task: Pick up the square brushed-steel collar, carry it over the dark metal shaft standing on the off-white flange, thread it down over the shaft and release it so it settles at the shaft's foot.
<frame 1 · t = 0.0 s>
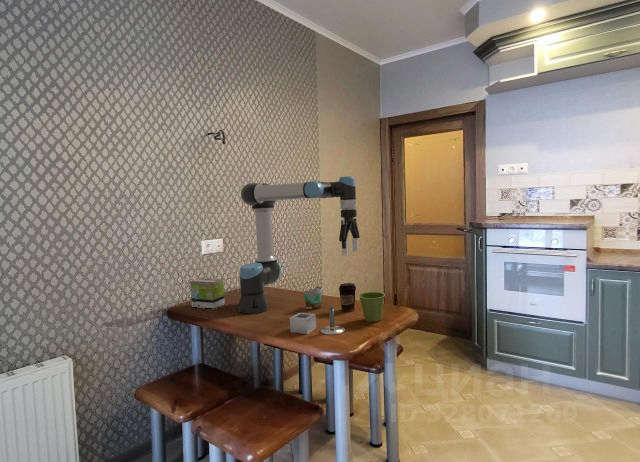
hand: (350, 253, 186), 28 cm above the table, fingers open, 13 cm apart
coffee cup: (348, 310, 189), on the table
collar: (303, 330, 162), on the table
post: (332, 330, 160), on the table
tea box: (208, 306, 210), on the table
food container: (316, 308, 195), on the table
plant pot: (372, 320, 172), on the table
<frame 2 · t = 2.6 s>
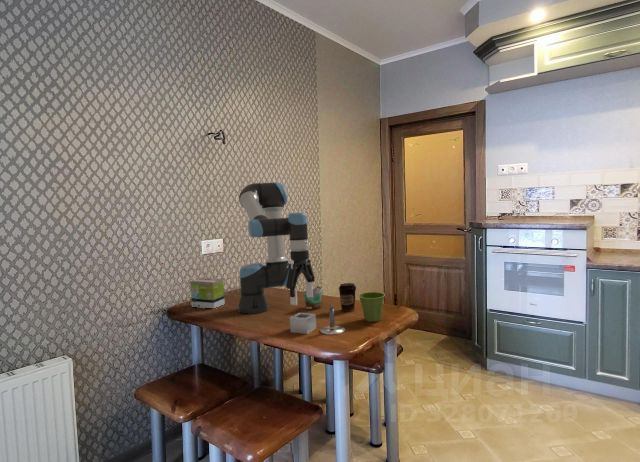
hand: (302, 300, 161), 13 cm above the table, fingers open, 13 cm apart
nothing on the table moved.
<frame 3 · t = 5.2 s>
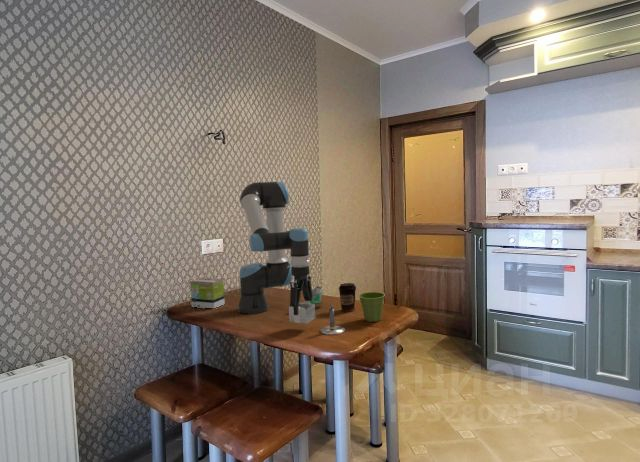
hand: (302, 318, 163), 5 cm above the table, fingers closed on collar, 8 cm apart
collar: (302, 319, 163), point 4 cm above the table, touching gripper
everything else where it was.
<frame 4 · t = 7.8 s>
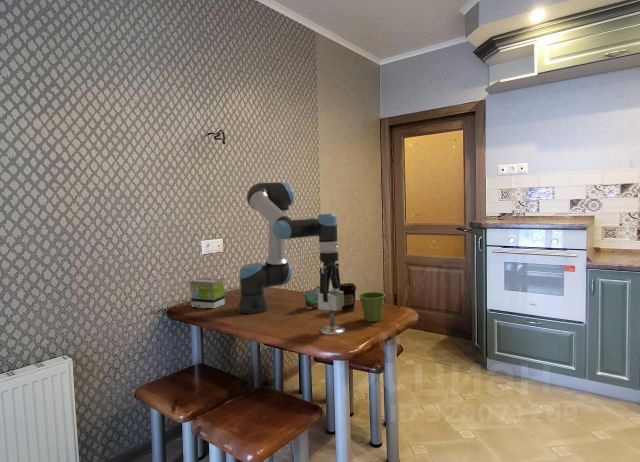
hand: (331, 306, 159), 10 cm above the table, fingers closed on collar, 8 cm apart
collar: (331, 307, 159), point 10 cm above the table, touching gripper
everything else where it was.
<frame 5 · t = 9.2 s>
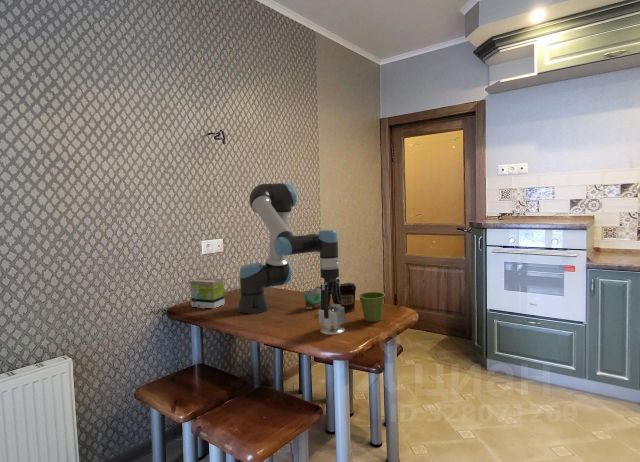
hand: (332, 322, 159), 3 cm above the table, fingers closed on collar, 8 cm apart
collar: (332, 323, 159), point 3 cm above the table, touching gripper
everything else where it was.
when the fingers open (3 cm above the table, at t = 10.2 s): collar drops 2 cm, resting on post.
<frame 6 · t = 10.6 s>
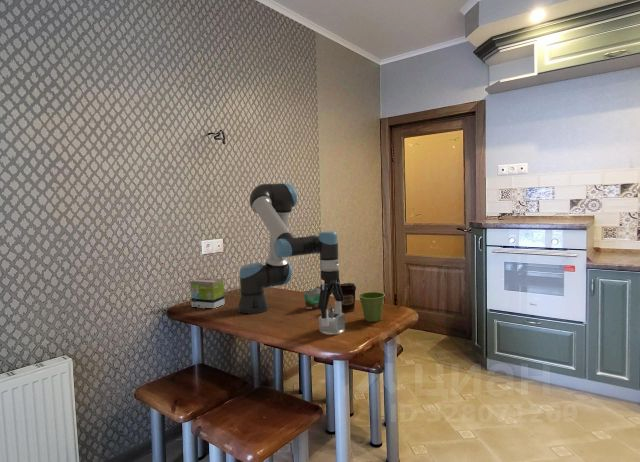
hand: (332, 320, 159), 4 cm above the table, fingers open, 13 cm apart
collar: (332, 329, 160), resting on post
everything else where it was.
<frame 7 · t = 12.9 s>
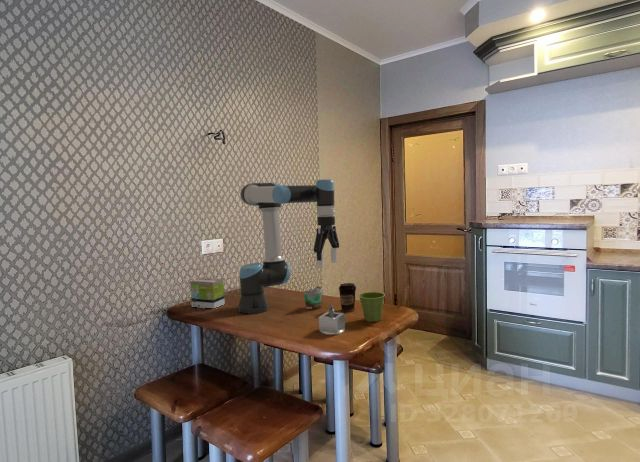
hand: (327, 265, 167), 26 cm above the table, fingers open, 13 cm apart
nothing on the table moved.
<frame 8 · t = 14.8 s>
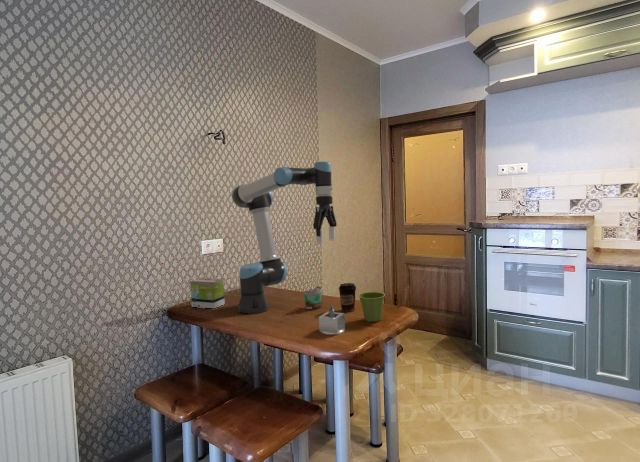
hand: (326, 242, 179), 35 cm above the table, fingers open, 13 cm apart
nothing on the table moved.
at the end: collar 0.1 cm off-centre on the post, point 0.5 cm above the post's base; collar tilted 0°; the gripper is holding nothing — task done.
